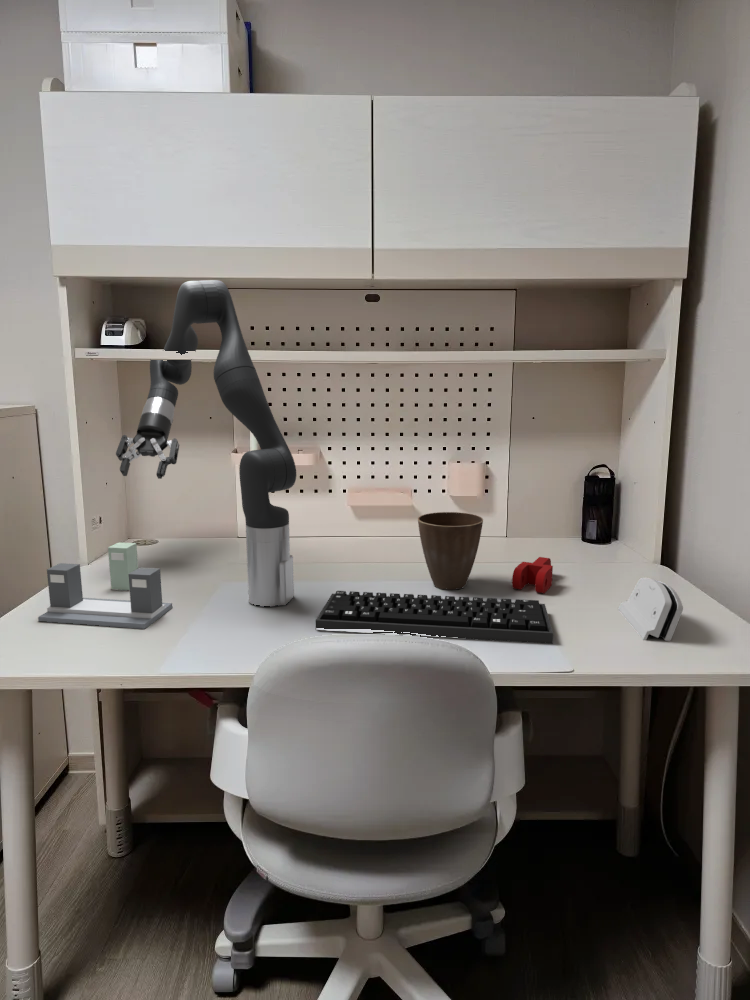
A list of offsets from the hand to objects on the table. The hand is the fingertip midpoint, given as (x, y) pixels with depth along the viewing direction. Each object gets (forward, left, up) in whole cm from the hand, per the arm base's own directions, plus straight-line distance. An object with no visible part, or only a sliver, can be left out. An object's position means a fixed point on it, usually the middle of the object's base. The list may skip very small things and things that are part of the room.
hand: (141, 475), depth 164 cm
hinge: (-115, +14, -25) cm, 118 cm away
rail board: (-5, +27, -25) cm, 37 cm away
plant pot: (-74, -4, -25) cm, 78 cm away
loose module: (0, +10, -25) cm, 26 cm away
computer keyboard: (-72, +19, -25) cm, 79 cm away
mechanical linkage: (-94, -9, -25) cm, 98 cm away
